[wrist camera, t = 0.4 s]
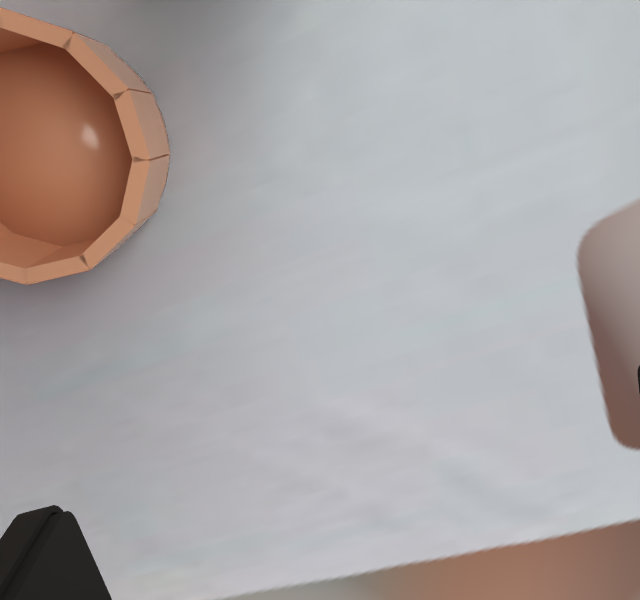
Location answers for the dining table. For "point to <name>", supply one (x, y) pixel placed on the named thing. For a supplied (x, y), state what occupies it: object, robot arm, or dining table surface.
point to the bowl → (71, 151)
